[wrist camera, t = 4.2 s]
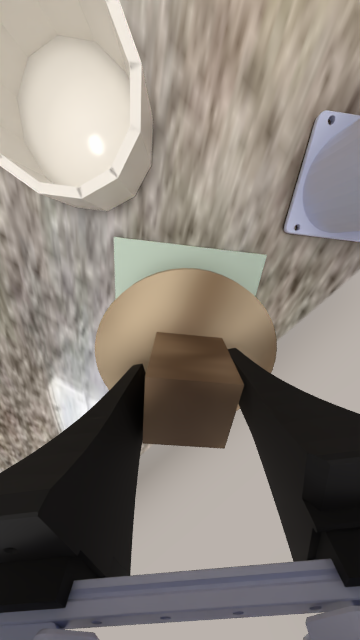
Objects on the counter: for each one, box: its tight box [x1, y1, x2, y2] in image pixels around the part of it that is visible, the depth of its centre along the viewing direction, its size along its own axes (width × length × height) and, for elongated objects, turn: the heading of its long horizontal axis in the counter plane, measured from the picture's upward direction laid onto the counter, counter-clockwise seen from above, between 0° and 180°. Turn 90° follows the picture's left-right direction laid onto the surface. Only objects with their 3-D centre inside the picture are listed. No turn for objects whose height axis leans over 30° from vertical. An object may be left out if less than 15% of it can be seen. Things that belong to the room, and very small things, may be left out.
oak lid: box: [95, 268, 277, 448], centre depth 10 cm, size 12×12×5 cm
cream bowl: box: [0, 0, 153, 211], centre depth 12 cm, size 10×10×4 cm
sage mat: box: [114, 237, 267, 299], centre depth 19 cm, size 14×14×1 cm
